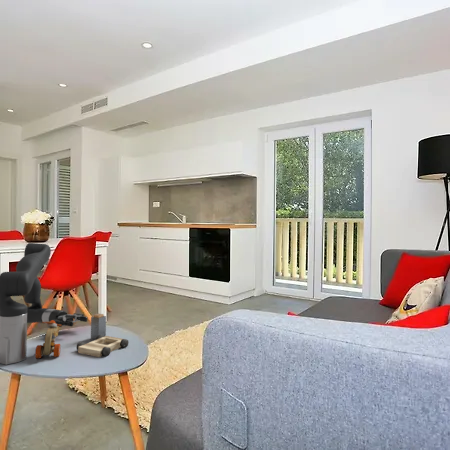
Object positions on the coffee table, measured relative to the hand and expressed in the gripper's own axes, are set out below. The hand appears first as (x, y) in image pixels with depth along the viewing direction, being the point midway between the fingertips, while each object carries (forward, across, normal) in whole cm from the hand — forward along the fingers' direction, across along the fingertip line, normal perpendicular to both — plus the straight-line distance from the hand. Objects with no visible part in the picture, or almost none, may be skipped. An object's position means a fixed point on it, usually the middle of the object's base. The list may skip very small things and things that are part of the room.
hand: (79, 321), depth 164 cm
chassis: (+22, -9, +6) cm, 25 cm away
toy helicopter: (+6, -21, +6) cm, 23 cm away
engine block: (+11, 0, +6) cm, 13 cm away
